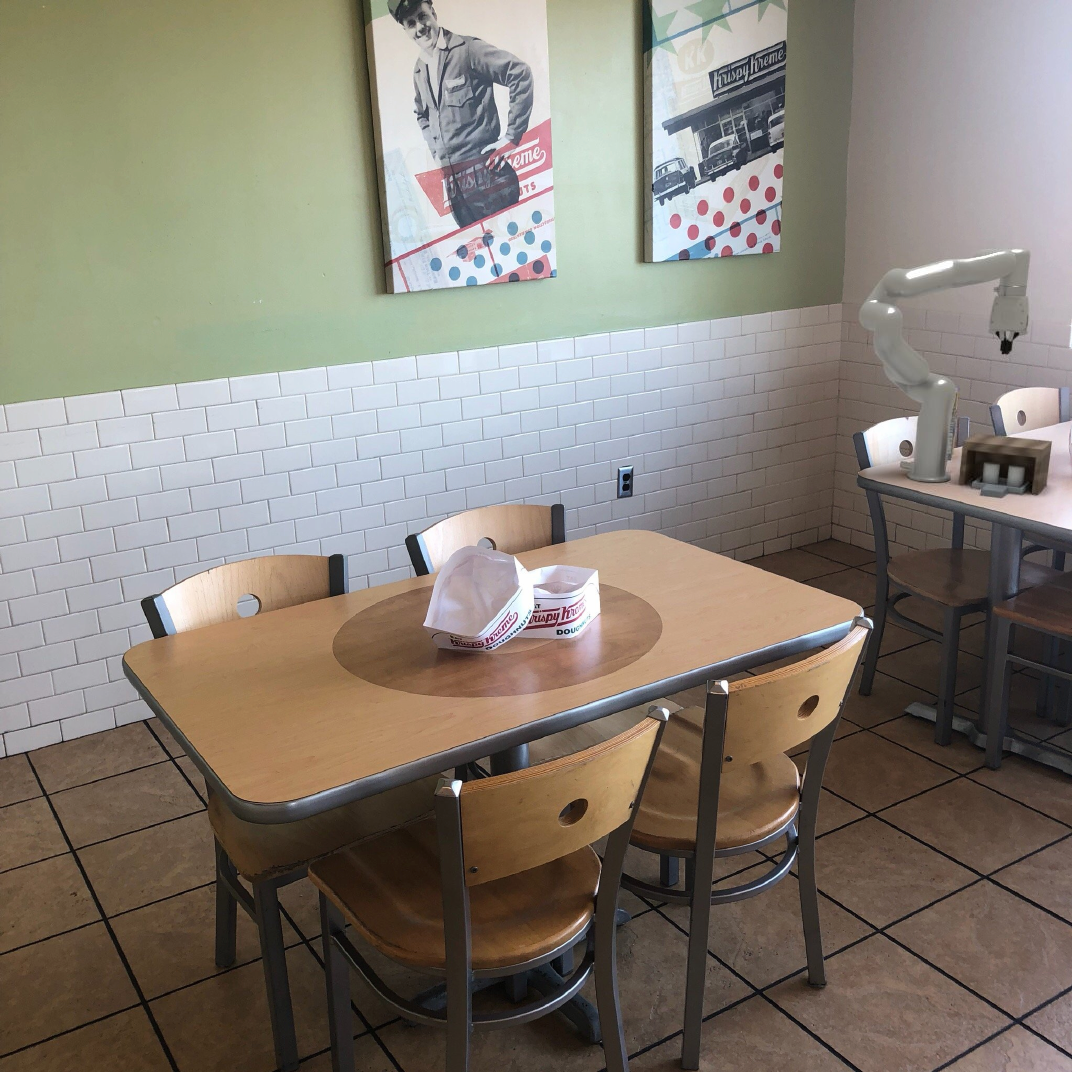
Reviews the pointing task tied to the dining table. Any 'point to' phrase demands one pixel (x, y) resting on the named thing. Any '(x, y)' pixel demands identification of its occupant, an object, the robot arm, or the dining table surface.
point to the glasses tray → (1001, 481)
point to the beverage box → (953, 427)
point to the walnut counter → (1006, 457)
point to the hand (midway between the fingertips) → (1005, 353)
